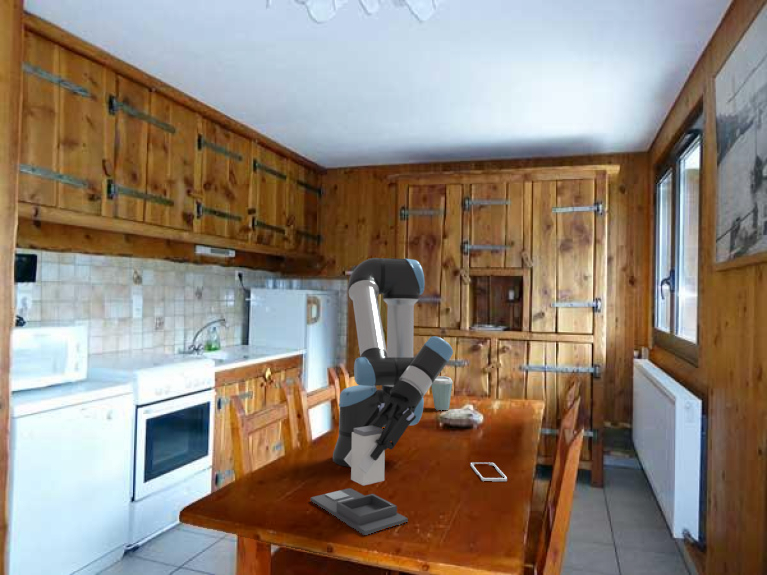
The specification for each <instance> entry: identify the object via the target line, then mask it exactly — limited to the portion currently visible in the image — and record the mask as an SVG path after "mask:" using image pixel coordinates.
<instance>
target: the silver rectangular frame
mask: <svg viewBox="0 0 767 575" xmlns="http://www.w3.org/2000/svg"><path fill="white" fill-rule="evenodd" d="M476 464H477V465H479V464H482V465H484V464H487V465H488V466H491V467H493V466H494V467H495V468H494V467H493V468H494V469H495V470H496V471H497V472H498V473H499V475H500V476H502V477H483V476H482V474H481V473H480V472H479V470H477V468H476V467H475V465H476ZM470 467H471V468H472V470H473V471H474V473H475V474H476V475H478V476H479V478H480V480H481V482H484V481H492V482H507V481H508V477H507V476H506V475H505V474H504V472H503V471H502V470H501V469H500V468H499V467H498V466H497V465H496V463H494V462H470ZM503 477H504V478H503Z"/></svg>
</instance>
